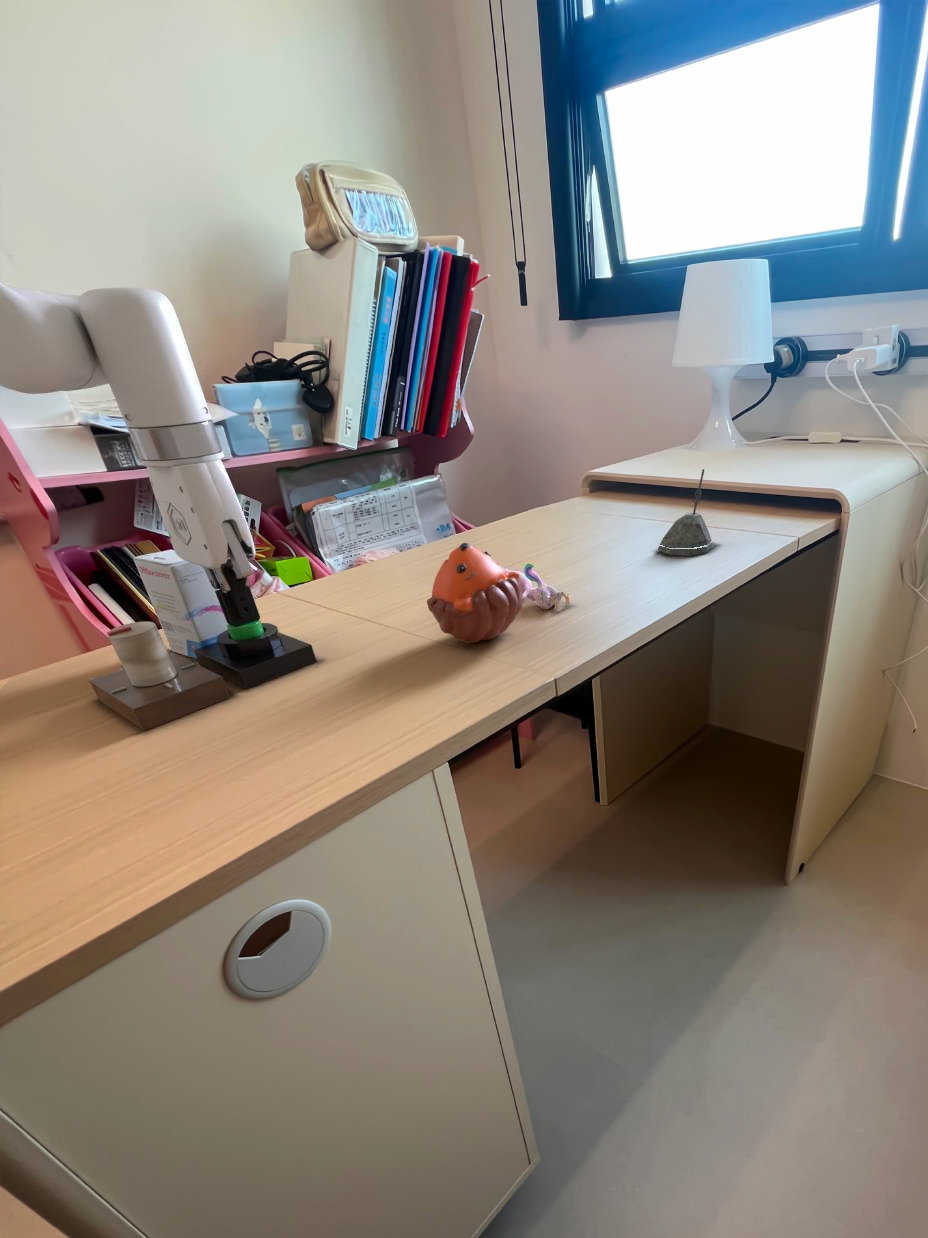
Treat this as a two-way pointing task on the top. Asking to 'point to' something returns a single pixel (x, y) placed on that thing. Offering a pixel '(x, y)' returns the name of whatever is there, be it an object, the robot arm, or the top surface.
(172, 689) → the dimmer panel
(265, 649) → the switch box
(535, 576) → the pink plastic figure
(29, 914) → the top surface
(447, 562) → the orange toy creature
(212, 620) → the ink box
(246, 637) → the green button
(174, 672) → the dimmer knob
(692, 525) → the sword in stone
